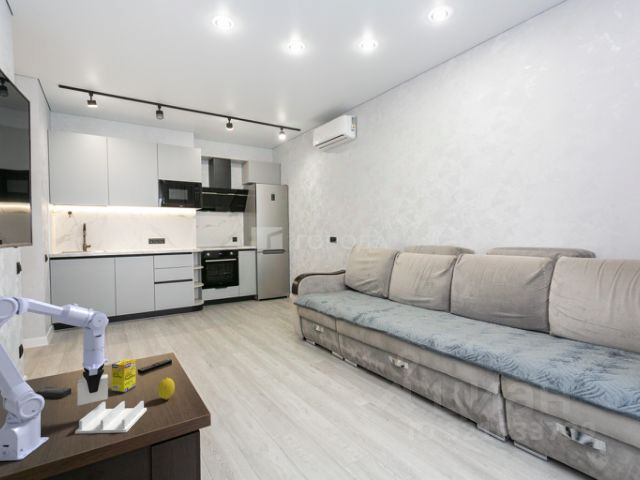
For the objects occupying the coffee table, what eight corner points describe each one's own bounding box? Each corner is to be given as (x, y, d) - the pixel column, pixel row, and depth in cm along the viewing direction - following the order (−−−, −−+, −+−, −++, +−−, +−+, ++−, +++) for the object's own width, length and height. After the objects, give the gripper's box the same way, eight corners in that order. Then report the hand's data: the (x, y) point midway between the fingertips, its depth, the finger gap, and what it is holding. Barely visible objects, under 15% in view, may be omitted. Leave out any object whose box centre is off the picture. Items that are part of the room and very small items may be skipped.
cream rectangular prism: (107, 398, 108) (107, 377, 108) (77, 405, 103) (77, 383, 103) (107, 394, 110) (107, 373, 110) (78, 401, 106) (78, 379, 106)
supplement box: (124, 393, 124) (124, 365, 124) (110, 392, 125) (111, 363, 125) (136, 387, 130) (136, 359, 130) (123, 385, 131) (123, 358, 131)
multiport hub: (61, 399, 120) (61, 393, 120) (34, 398, 121) (34, 392, 121) (72, 394, 125) (72, 388, 125) (45, 392, 126) (46, 386, 126)
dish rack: (126, 432, 99) (126, 420, 99) (75, 433, 98) (75, 421, 98) (146, 410, 112) (146, 400, 112) (101, 411, 111) (101, 401, 111)
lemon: (154, 401, 119) (154, 379, 119) (168, 394, 123) (168, 373, 124) (164, 404, 116) (164, 382, 116) (178, 398, 121) (178, 376, 121)
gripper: (108, 352, 103) (108, 395, 103) (108, 340, 115) (108, 379, 115) (81, 356, 99) (80, 401, 99) (83, 343, 111) (83, 383, 111)
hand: (93, 389), depth 107 cm, fingers closed on cream rectangular prism, 3 cm apart
